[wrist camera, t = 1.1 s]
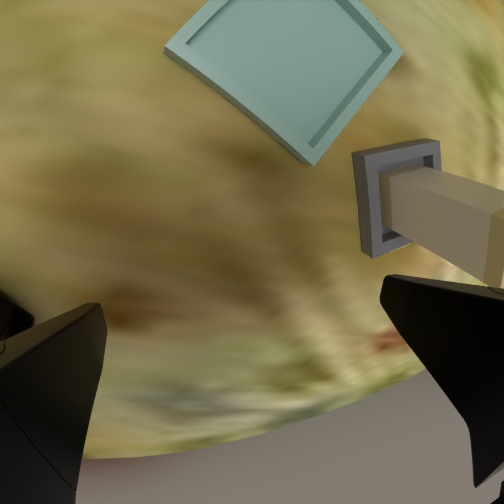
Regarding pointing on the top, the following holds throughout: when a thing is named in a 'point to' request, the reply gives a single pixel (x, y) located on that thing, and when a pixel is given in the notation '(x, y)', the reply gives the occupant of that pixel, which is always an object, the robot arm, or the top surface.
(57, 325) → the robot arm
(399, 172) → the block
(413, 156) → the small gray square tray
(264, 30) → the parts tray
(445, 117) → the top surface
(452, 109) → the top surface
